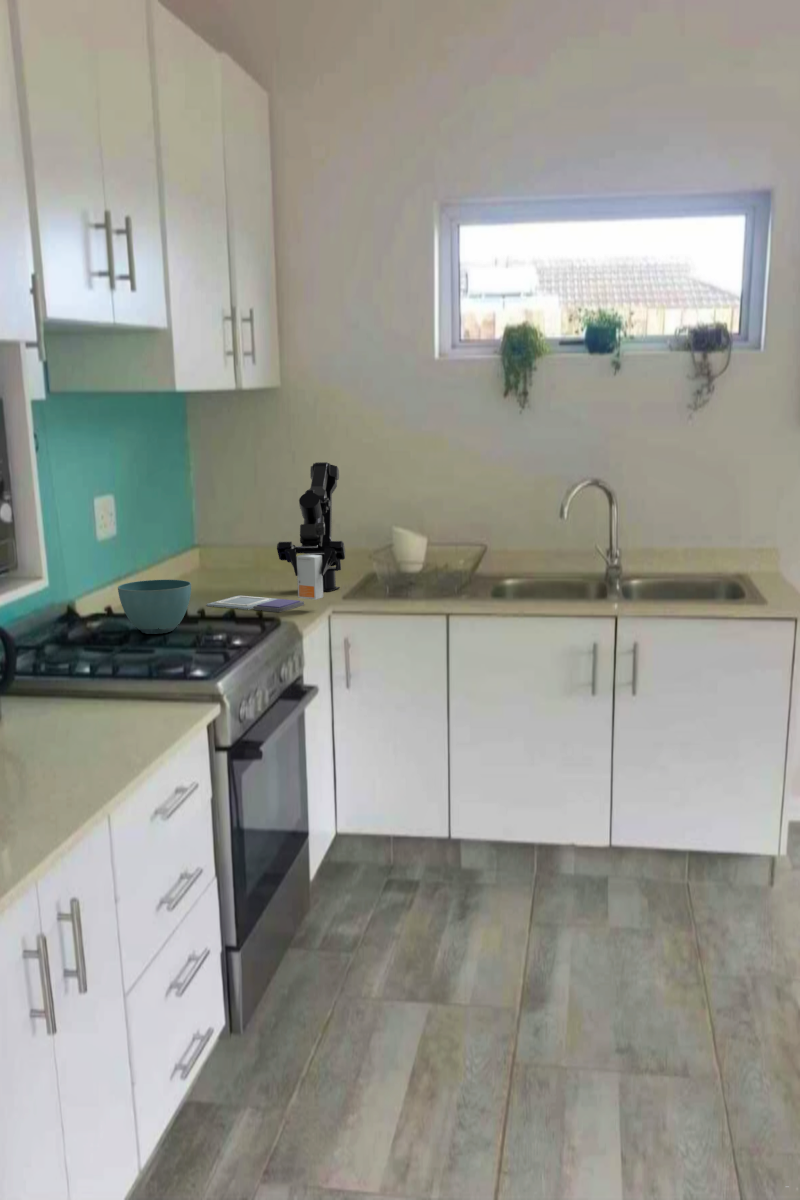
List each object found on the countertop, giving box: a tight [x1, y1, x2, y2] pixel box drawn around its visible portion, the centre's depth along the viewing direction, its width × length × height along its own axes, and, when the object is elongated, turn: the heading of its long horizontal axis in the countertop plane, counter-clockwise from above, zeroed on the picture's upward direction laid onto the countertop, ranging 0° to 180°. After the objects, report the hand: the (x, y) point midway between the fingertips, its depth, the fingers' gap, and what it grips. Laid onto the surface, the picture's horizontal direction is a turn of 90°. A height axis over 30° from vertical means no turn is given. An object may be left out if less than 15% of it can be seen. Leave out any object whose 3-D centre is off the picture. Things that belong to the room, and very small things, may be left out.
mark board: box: [206, 594, 278, 611], centre depth 303 cm, size 15×15×1 cm
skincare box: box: [296, 553, 324, 601], centre depth 289 cm, size 6×4×12 cm
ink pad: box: [253, 598, 305, 613], centre depth 296 cm, size 12×9×1 cm
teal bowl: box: [117, 579, 192, 629], centre depth 265 cm, size 18×18×12 cm
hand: (309, 575), depth 287 cm, fingers closed on skincare box, 7 cm apart
